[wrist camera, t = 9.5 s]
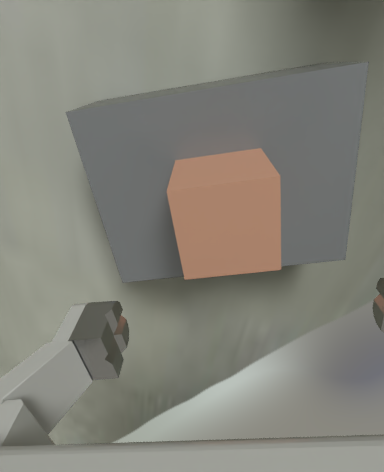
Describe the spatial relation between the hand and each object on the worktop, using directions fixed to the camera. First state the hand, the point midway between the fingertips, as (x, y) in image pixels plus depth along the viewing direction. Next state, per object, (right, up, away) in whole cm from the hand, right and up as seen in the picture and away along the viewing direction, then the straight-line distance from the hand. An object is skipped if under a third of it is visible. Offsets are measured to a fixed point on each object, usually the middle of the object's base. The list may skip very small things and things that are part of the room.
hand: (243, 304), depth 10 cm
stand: (0, +8, +14) cm, 16 cm away
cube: (0, +5, +9) cm, 10 cm away
